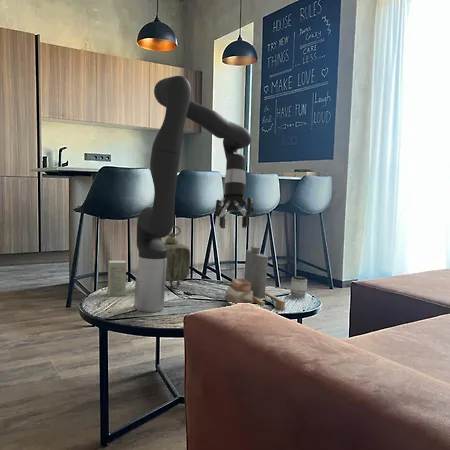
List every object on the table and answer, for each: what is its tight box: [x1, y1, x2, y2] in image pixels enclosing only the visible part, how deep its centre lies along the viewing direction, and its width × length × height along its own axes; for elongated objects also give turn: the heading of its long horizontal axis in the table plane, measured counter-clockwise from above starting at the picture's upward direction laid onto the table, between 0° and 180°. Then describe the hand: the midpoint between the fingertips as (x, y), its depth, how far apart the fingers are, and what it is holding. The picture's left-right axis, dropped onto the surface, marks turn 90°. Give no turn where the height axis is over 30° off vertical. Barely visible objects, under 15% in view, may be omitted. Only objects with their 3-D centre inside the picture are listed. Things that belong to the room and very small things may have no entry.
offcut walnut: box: [225, 294, 254, 304], centre depth 162 cm, size 7×9×3 cm
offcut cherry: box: [231, 278, 251, 292], centre depth 161 cm, size 5×7×3 cm
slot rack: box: [229, 283, 286, 311], centre depth 170 cm, size 10×28×3 cm, turn 22°
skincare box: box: [107, 260, 127, 297], centre depth 162 cm, size 6×4×12 cm
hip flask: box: [243, 245, 269, 299], centre depth 172 cm, size 16×4×20 cm, turn 20°
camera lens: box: [290, 275, 308, 299], centre depth 181 cm, size 6×6×8 cm
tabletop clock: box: [162, 225, 191, 290], centre depth 177 cm, size 14×9×25 cm, turn 122°
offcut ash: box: [226, 286, 253, 301], centre depth 162 cm, size 6×8×3 cm
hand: (233, 227), depth 160 cm, fingers open, 8 cm apart
